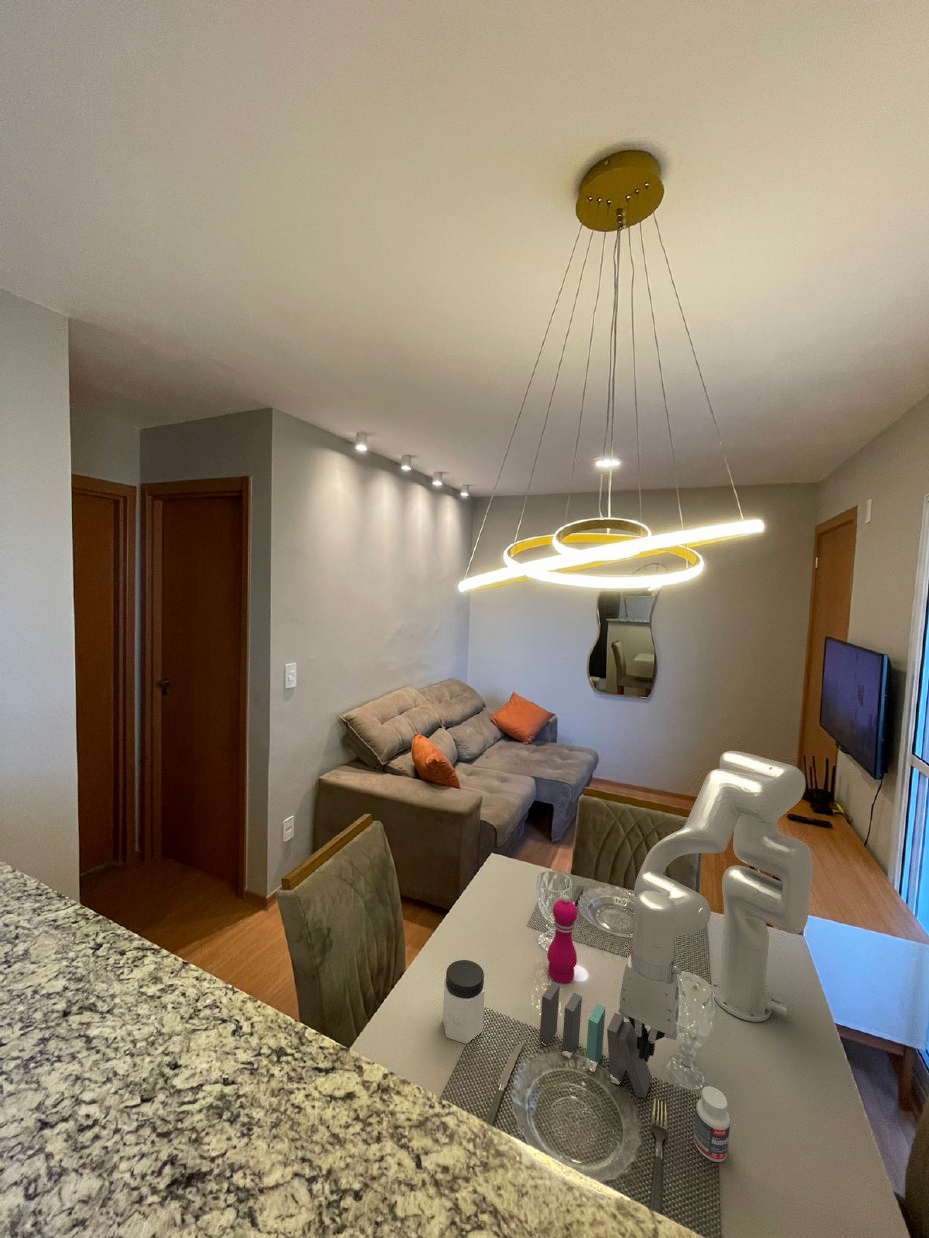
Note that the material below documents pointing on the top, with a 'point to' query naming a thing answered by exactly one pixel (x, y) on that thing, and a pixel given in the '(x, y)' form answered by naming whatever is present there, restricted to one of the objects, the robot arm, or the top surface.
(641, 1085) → the domino
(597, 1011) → the domino
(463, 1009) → the jar
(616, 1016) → the domino
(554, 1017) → the domino
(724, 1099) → the pill bottle
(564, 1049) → the domino
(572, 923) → the pepper mill
